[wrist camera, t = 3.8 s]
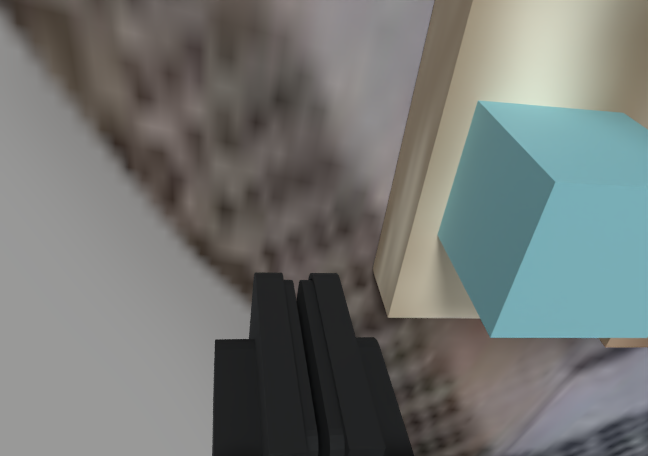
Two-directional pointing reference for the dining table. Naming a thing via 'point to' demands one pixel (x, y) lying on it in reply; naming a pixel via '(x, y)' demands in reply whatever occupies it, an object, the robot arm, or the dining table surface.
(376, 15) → the dining table surface
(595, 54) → the board
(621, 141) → the teal cube
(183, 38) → the dining table surface
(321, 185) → the dining table surface
